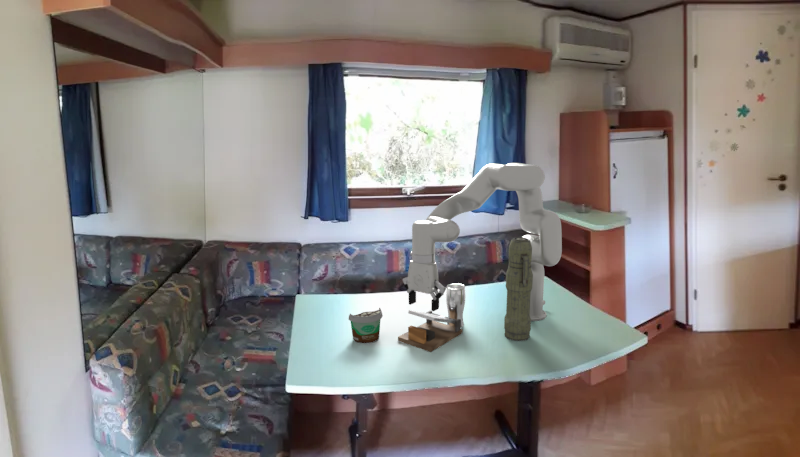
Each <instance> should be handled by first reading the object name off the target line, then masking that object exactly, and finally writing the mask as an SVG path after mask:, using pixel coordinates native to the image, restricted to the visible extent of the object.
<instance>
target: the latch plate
mask: <svg viewBox="0 0 800 457" xmlns="http://www.w3.org/2000/svg"><path fill="white" fill-rule="evenodd" d="M425 313H433V311H432V310H429V311H426V312H425ZM425 319H426V318H425ZM407 328H408V329H407V331H406V332H404V333H402V334H400V335H399V336H397V342H400V343H404V344H406V345H408V346H412V347H413V348H414V347H415V348H418V349H420V350H424V351H426V352H428V353H429V352H430V353H432V352H434V351H435V350H437V349H439V348H441V347H442V346H444V345H446V344H447V343H448V342H451V341H452V340H454V339H455V338H457V337H460V336H461V335H462V334H463V332H464V331H463V329H462V327H461V319H458V320H456V321H455V327H453V326H450V325H447V323H444V322H438V321H432V320H429V319H426V322H424V323H422V324H420V325H418V326H415V325H409V326H408V327H407Z"/></svg>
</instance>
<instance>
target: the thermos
mask: <svg viewBox="0 0 800 457" xmlns="http://www.w3.org/2000/svg"><path fill="white" fill-rule="evenodd" d="M509 243H510V244H509V246H508V266H507V270H506V272H505V273H506V274H505V288H506V310H505V311H506V313H505V316H504V326H503V329H504V337H505V338H506V339H508V340H509V341H513V342H525V341H528V340H529V339H530V337H531V336H530V335H531V330H532V329H531V327H532V321H531V318H530V295H531V290H532V282H533V273H532V270H531V262H532V245H531V242H530V240H529V239H528V238H524V237H523V236H518V237H517V236H516V237H513V238H511V240H510V242H509Z"/></svg>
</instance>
